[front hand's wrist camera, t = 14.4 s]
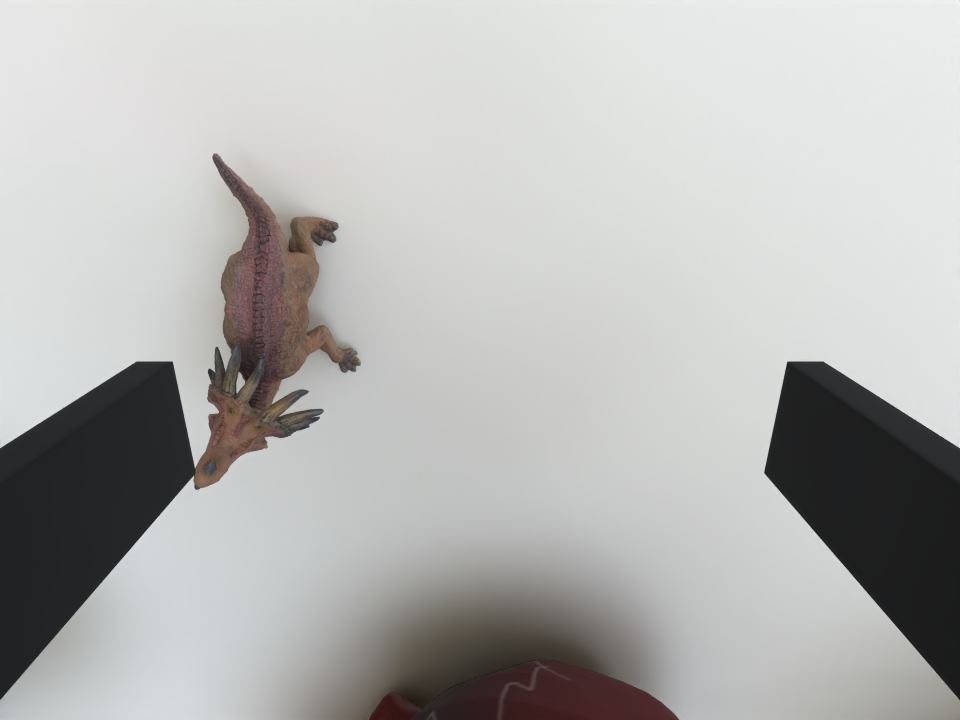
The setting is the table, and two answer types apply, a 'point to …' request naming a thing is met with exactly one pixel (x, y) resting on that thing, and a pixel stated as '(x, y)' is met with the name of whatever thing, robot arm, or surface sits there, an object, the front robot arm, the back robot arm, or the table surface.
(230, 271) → the dinosaur figurine
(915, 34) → the table surface
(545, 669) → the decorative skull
